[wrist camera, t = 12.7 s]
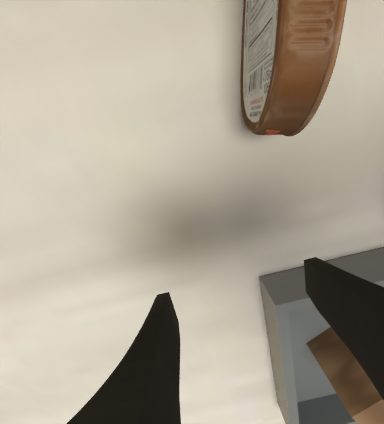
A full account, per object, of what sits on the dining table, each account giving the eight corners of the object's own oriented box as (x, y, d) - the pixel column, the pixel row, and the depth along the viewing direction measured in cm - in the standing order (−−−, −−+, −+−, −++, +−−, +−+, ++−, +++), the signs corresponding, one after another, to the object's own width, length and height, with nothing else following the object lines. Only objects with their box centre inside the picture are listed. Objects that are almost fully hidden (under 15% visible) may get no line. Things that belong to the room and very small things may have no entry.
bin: (386, 246, 23) (427, 269, 20) (375, 379, 30) (404, 415, 27) (259, 276, 24) (275, 305, 20) (277, 402, 31) (292, 441, 27)
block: (336, 322, 25) (395, 392, 19) (354, 341, 26) (414, 413, 20) (306, 343, 26) (351, 417, 19) (324, 360, 27) (373, 436, 20)
